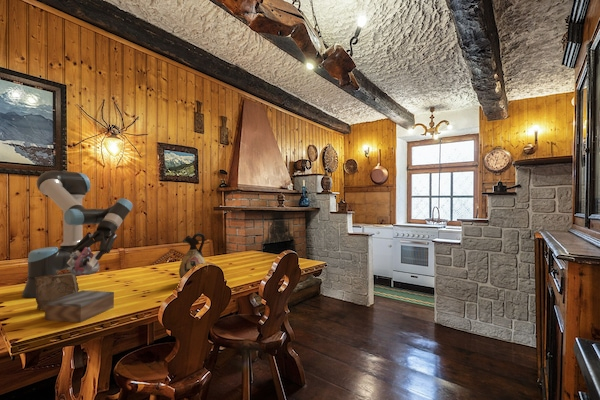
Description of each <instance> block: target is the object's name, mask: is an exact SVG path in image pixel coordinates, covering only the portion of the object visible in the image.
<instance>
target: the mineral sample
mask: <svg viewBox="0 0 600 400" xmlns="http://www.w3.org/2000/svg"><path fill="white" fill-rule="evenodd" d="M77 278H78V277H77V275H74V274H73V273H71V272H70V271H68V272H61V273H57V274H53V275H47V276H40V277H35V285H36V297H35V301H36V304H37V305H36V309H37V310H38V311H45V302H48V301H51V300H54V299H58V298H61V297H64V296H67V295H70V294H73V293H76V292H79V290H80V287H79V283H78V279H77Z"/></svg>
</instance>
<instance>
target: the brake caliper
mask: <svg viewBox="0 0 600 400" xmlns="http://www.w3.org/2000/svg"><path fill="white" fill-rule="evenodd" d="M90 250H91V249H90ZM90 250H89V249H88V248H87V247H85V248H84V250H83V251H82V252H81V254H80V255H79V257H78V256H77V253H76V252H74V253H73V252H72V254H71V255H70V257H71V258H72V259H73V260H72V266H73V267H68V268H66V269H65V270H67V271H68V272H71V273H73V274H74V275H76V276H90V275H92V274H93V275H94V274H96V273H98V272H100V265H101V263H99V260H98V261H97V263H96V264H95V265H94V267H93V268H92V267H91V266H89V265H88V263H89V261H90V260H91V259H92V257H93V256H94V254H95V253H93V252H92V250H91V251H90ZM88 252H89V254H88ZM83 254H84V255H83ZM87 257H90V260H89V258H87Z"/></svg>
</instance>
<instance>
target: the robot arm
mask: <svg viewBox="0 0 600 400" xmlns="http://www.w3.org/2000/svg"><path fill="white" fill-rule="evenodd" d="M36 188H37V189H38V191H39V192H40V193H41V194H43V195H45V196H48V197H49V198H50V200H52V201H53V203H54V204H55V205H57V207H58V208H59V209H60V210H61V211H62V214H63V216H62V217H63V221H62V222H63V223H62V224H63V227H62V228H63V231H62V233H63V242H62V243H60V244H59V247H57V246H49V247H46V246H45V247H41V248H36V249H33V250H31V251H30V252H28V256H27V258H28V259H27V281H26V283H25V285H24V288H23V291H22V294H21V295H22V298H25V299H26V298H27V299H32V298H35V299H36V285H35V277H40V276H47V275H53V274H58V272H59V271H63V270H64V271H65V270H67V269H66V268H68V267H73V266H72V260H73V259H72V258H71V257H70V255H71V254H72V252H73V253H74V252H76V253H77V256H78V257H79V255H80V254H81V252H82V251H83V250H84V248H85V247H87V248H88V249H89V250H90V251H91V252H92V250H91V246H92V245H94V244H96V243H98V242H99V243H100V244H99V249H98V250H96V252H95V253H93V254H94V256H93V257H92V259H91V258H90V257H87V258H89V263H88V265H89V266H91V267H92V268H93V267H94V265H95V264H96V263H97V261H98V262H99V260H101V258H102V257H103V255H105V254H110V252H111V250H112V247H113V245H114V243H115V240H116V239H117V238H118V235H117V234H116V232H117V231H118V229H119V228H120V226H121V224H122V223H123V222H124V220H125V219H126V218H127V216H128V215H129V214H130V212H131V210H132V209H133V207H134V206H133V203H132V201H130V200H129V199H126V198H118V200H117V201H115V203H114V204H112V205H111V206H110V207H107V208H86V207H85V206H84V205H83V199H84V198H85V197H86V195H87V194H88V193H89V192H90V189H91V181H90V178H89V177H88V176H87V174H86V173H81V172H76V171H75V172H74V171H63V170H48V171H45V172H43V173H41V174H40V175H39V176H38V178H37V180H36ZM83 225H97V226H96V230H95V231H94V232H93V233H91V232H90V231H88V232H87V233H86V235H85V236H83V234H84V233H83V231H84V230H83V227H84V226H83ZM88 254H89V252H88ZM83 255H84V254H83Z"/></svg>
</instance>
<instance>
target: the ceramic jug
mask: <svg viewBox="0 0 600 400" xmlns="http://www.w3.org/2000/svg"><path fill="white" fill-rule="evenodd" d="M197 237H199V238H201V243H200V242H199V240H198V239H197ZM205 240H206V238H205V234H203V233H201V232H197V233H196V232H195V234H193V236H192V237H191V236H190V235H187V236H186V237H184V238H183V239H182V242H183V243H186V244H189V246H190V247H189V250H187V252H186V254H185V255H184V257H183V258H182V260H181V261H180V265H179V269H178V274H179V277H180V279H181V278H182V277H183V276H184V275H185V274H186V273H187V272H188V271H189V270H190V269H192V268H193V267H194V266H196V265H199V264H203V263H206V261H205V258H204V255H203V251H202V250H203V247H204V244H205ZM198 244H200V245H199V247H198V248H197V245H198ZM206 264H207V263H206Z"/></svg>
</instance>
